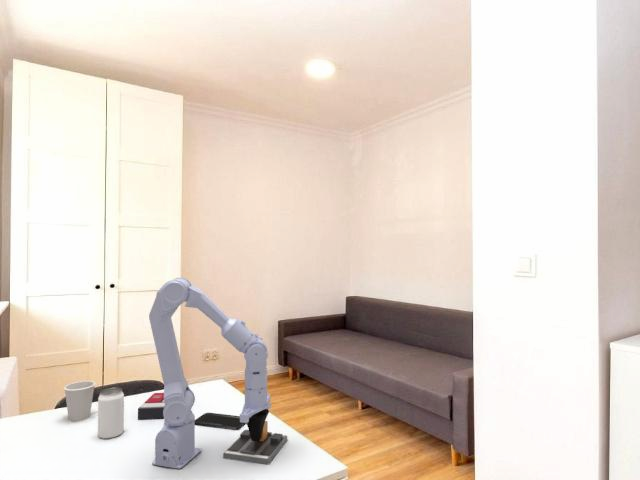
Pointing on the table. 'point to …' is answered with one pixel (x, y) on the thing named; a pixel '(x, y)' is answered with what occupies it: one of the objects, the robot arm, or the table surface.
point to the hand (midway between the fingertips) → (256, 439)
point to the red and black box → (152, 408)
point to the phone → (219, 421)
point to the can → (110, 413)
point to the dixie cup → (79, 400)
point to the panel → (255, 448)
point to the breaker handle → (264, 431)
